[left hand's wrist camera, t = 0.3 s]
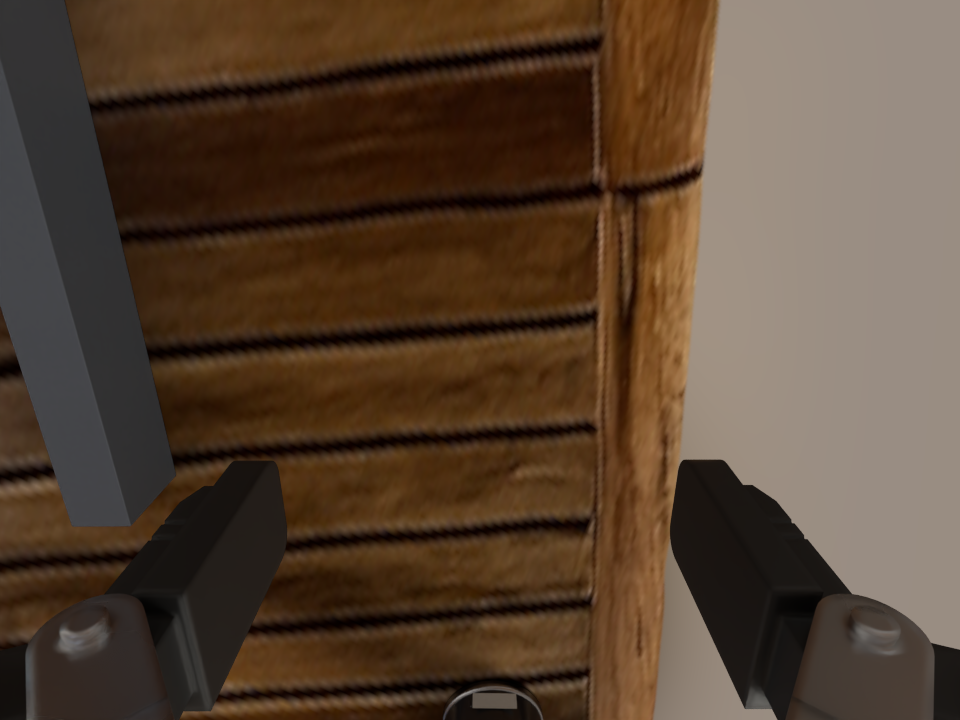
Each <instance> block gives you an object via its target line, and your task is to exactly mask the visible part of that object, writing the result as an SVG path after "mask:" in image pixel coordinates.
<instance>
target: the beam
mask: <svg viewBox="0 0 960 720" xmlns="http://www.w3.org/2000/svg"><path fill="white" fill-rule="evenodd" d="M0 306H1V309H2V312H3V315H4V319H5V322H6V325H7V328H8V331H9V334H10V337H11V340H12V343H13V346H14V349H15V352H16V355H17V358H18V362H19V365H20V368H21V371H22V374H23V377H24V380H25V383H26V386H27V389H28V392H29V395H30V398H31V401H32V404H33V408H34V411H35V414H36V417H37V420H38V423H39V426H40V429H41V432H42V435H43V438H44V441H45V444H46V447H47V451H48V454H49V457H50V460H51V463H52V466H53V469H54V472H55V475H56V478H57V481H58V484H59V487H60V490H61V493H62V497H63V500H64V503H65V506H66V509H67V512H68V515H69V518H70V521H71V524H72V526H131V525H132V524H133V523H134V522H135V521H136V520H137V518H138V517H139V516H140V515H141V514H142V513H143V512H144V511H145V509H146V508H147V507H148V506H149V505H150V504H151V503H152V502H153V501H154V499H155V498H156V497H157V496H158V495H159V494H160V493H161V492H162V490H163V489H164V488H165V487H166V486H167V485H168V484H169V483H170V482H171V480H172V479H173V478H174V477H175V476H176V473H175V469H174V464H173V460H172V456H171V452H170V447H169V443H168V439H167V435H166V430H165V426H164V422H163V418H162V413H161V409H160V405H159V401H158V396H157V392H156V388H155V384H154V379H153V375H152V371H151V367H150V362H149V358H148V354H147V350H146V345H145V341H144V337H143V333H142V328H141V324H140V320H139V316H138V311H137V307H136V303H135V299H134V294H133V290H132V286H131V282H130V277H129V273H128V269H127V265H126V260H125V256H124V252H123V248H122V243H121V239H120V235H119V230H118V226H117V222H116V218H115V213H114V209H113V205H112V201H111V196H110V192H109V188H108V184H107V179H106V175H105V171H104V167H103V162H102V158H101V154H100V150H99V145H98V141H97V137H96V133H95V128H94V124H93V120H92V116H91V111H90V107H89V103H88V99H87V94H86V90H85V86H84V82H83V77H82V73H81V69H80V65H79V60H78V56H77V52H76V48H75V43H74V39H73V35H72V31H71V26H70V22H69V18H68V14H67V9H66V5H65V1H64V0H0Z"/></svg>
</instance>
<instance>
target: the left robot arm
mask: <svg viewBox="0 0 960 720" xmlns="http://www.w3.org/2000/svg"><path fill="white" fill-rule="evenodd" d="M670 539H671V546H672V550H673V554H674V557H675V559H676V561H677V563H678V566H679V568H680V570H681V572H682V574H683V576H684V579H685V581H686V583H687V585H688V587H689V589H690V591H691V594H692V596H693V598H694V600H695V602H696V605H697V607H698V609H699V611H700V613H701V615H702V617H703V620H704V622H705V624H706V626H707V628H708V630H709V633H710V635H711V637H712V639H713V641H714V643H715V645H716V648H717V650H718V652H719V654H720V656H721V658H722V660H723V663H724V665H725V667H726V669H727V671H728V674H729V676H730V678H731V680H732V682H733V684H734V686H735V689H736V691H737V693H738V695H739V697H740V699H741V702H742V704H743V706H744V708H745V709H772V710H773V712H774V714H775V716H776V718H777V720H960V650H958V649H954V648H950V647H945V646H941V645H937V644H933V643H931V642H930V641H929V639H928V638H927V636H926V635H925V634H924V632H923V631H922V630H921V629H920V628H919V627H918V626H917V625H916V624H915V623H914V622H913V621H911V620H910V619H909V618H907V617H906V616H905V615H903V614H902V613H900V612H898V611H897V610H895V609H893V608H891V607H890V606H888V605H886V604H883V603H881V602H879V601H876V600H873V599H870V598H867V597H863V596H859V595H854V594H852V593H851V592H850V591H849V590H848V589H847V587H846V586H845V585H844V584H843V582H842V581H841V580H840V579H839V577H838V576H837V575H836V574H835V573H834V571H833V570H832V569H831V568H830V566H829V565H828V564H827V563H826V562H825V560H824V559H823V558H822V557H821V555H820V554H819V553H818V552H817V551H816V549H815V548H814V547H813V546H812V544H811V543H810V542H809V541H808V540H807V539H804V535H803V533H802V532H801V531H800V530H799V528H798V527H797V526H796V525H795V524H794V523H792V522H791V519H790V517H789V516H788V515H787V514H786V513H785V511H784V510H783V509H782V508H781V506H780V505H779V504H778V503H777V502H776V501H775V500H774V499H772V498H771V497H769V496H768V495H766V494H765V493H763V492H762V491H760V490H759V489H757V488H756V487H754V486H753V485H743V484H742V483H741V482H740V480H739V479H738V478H737V476H736V475H735V474H734V473H733V471H732V470H731V469H730V467H729V466H728V465H727V463H726V462H725V461H723V460H683V461H682V462H681V464H680V466H679V470H678V476H677V482H676V489H675V496H674V503H673V510H672V516H671V524H670ZM286 541H287V524H286V517H285V510H284V504H283V497H282V490H281V484H280V477H279V471H278V467H277V465H276V463H275V462H274V461H233V462H232V463H231V464H230V465H229V466H228V468H227V469H226V470H225V472H224V473H223V474H222V476H221V477H220V478H219V479H218V481H217V482H216V483H215V485H214V486H204V487H202V488H201V489H199V490H198V491H196V492H195V493H193V494H192V495H190V496H189V497H187V498H186V499H184V500H183V501H181V502H180V503H179V504H178V506H177V507H176V508H175V509H174V510H173V512H172V513H171V514H170V515H169V516H168V518H167V519H166V520H165V524H164V525H161V526H160V527H159V529H158V530H157V531H156V532H155V533H154V535H153V536H152V540H151V541H148V542H147V543H146V544H145V546H144V547H143V548H142V549H141V550H140V552H139V553H138V554H137V555H136V557H135V558H134V559H133V560H132V561H131V563H130V564H129V565H128V566H127V567H126V569H125V570H124V571H123V572H122V574H121V575H120V576H119V577H118V578H117V580H116V581H115V582H114V583H113V584H112V586H111V587H110V588H109V589H108V591H107V592H106V593H105V594H104V595H101V596H97V597H93V598H90V599H87V600H84V601H81V602H79V603H77V604H74V605H72V606H70V607H69V608H67V609H65V610H63V611H62V612H60V613H58V614H57V615H55V616H54V617H53V618H51V619H50V620H49V621H47V622H46V623H45V624H44V625H43V626H42V627H41V628H40V629H39V630H38V631H37V632H36V634H35V635H34V636H33V638H32V639H31V641H30V642H29V644H26V645H22V646H18V647H14V648H10V649H6V650H2V651H0V720H179V719H180V717H181V715H182V713H183V711H211V710H212V707H213V705H214V703H215V701H216V699H217V697H218V695H219V693H220V690H221V688H222V686H223V684H224V682H225V680H226V678H227V676H228V673H229V671H230V669H231V667H232V665H233V663H234V661H235V658H236V656H237V654H238V652H239V650H240V648H241V646H242V644H243V641H244V639H245V637H246V635H247V633H248V631H249V629H250V627H251V624H252V622H253V620H254V618H255V616H256V614H257V612H258V610H259V607H260V605H261V603H262V601H263V599H264V597H265V595H266V593H267V590H268V588H269V586H270V584H271V582H272V580H273V578H274V575H275V573H276V571H277V569H278V567H279V565H280V563H281V561H282V558H283V555H284V552H285V548H286ZM443 720H543V716H542V709H541V706H540V704H539V702H538V700H537V699H536V698H535V696H534V695H533V694H532V693H530V692H529V691H528V690H526V689H525V688H523V687H521V686H518V685H516V684H513V683H509V682H504V681H482V682H477V683H473V684H470V685H468V686H466V687H463V688H462V689H460V690H458V691H457V692H456V693H455V694H453V695H452V696H451V697H450V699H449V700H448V702H447V703H446V705H445V708H444V712H443Z"/></svg>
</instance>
